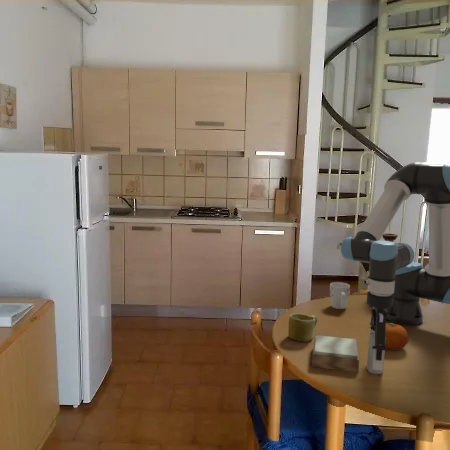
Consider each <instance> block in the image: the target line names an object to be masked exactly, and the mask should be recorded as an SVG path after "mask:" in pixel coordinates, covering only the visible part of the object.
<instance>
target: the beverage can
mask: <svg viewBox="0 0 450 450" xmlns="http://www.w3.org/2000/svg"><path fill="white" fill-rule="evenodd" d="M385 340H386V337H385ZM372 346H375V332H369V335H368V346H367V360H366V361H367V362H366V363H367V364H366V370H367V371H368V372H369V373H370V374H372V375H381V374H383V372H384V363H385V355H384V356H383V369H382V370H374V369H373V354H374V349H372ZM385 351H386V349H385V350H384V354H385V353H386V352H385Z"/></svg>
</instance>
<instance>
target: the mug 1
mask: <svg viewBox="0 0 450 450" xmlns="http://www.w3.org/2000/svg"><path fill="white" fill-rule="evenodd" d="M288 317H289V318H288V337H289V339H291V340H294V341H298V342H302V343H308V342H309V341H312V339H314V338H313V337H314V335H313V334H314V329H315V327H316V326H317V323H318V318H317V316H316V315H313V314H311V315H308V314H305V313H304V314H303V313H291V314H289V316H288Z"/></svg>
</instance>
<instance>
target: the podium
mask: <svg viewBox="0 0 450 450" xmlns="http://www.w3.org/2000/svg"><path fill="white" fill-rule="evenodd" d="M313 339H314V341H313V349H312V359H311V360H312V361H311V367H312V368H319V369H320V368H321V369H329V370H339V371H347V372H354V373H359V369H360V368H359V367H360V356H359V348H358V342H357V340H356V338H346V337H336V336H335V337H334V336H328V335H327V336H325V335H317V334H316V336H315V337H314V338H313Z"/></svg>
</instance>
